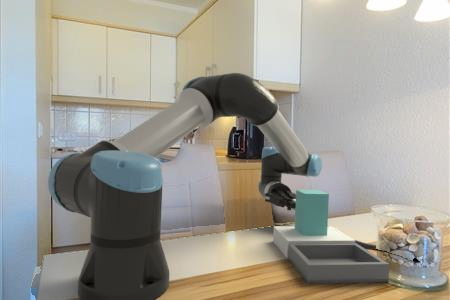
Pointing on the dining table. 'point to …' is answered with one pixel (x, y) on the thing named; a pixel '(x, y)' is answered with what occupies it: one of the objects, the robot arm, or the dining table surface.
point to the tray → (337, 263)
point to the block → (311, 212)
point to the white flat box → (306, 237)
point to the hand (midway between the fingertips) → (302, 208)
